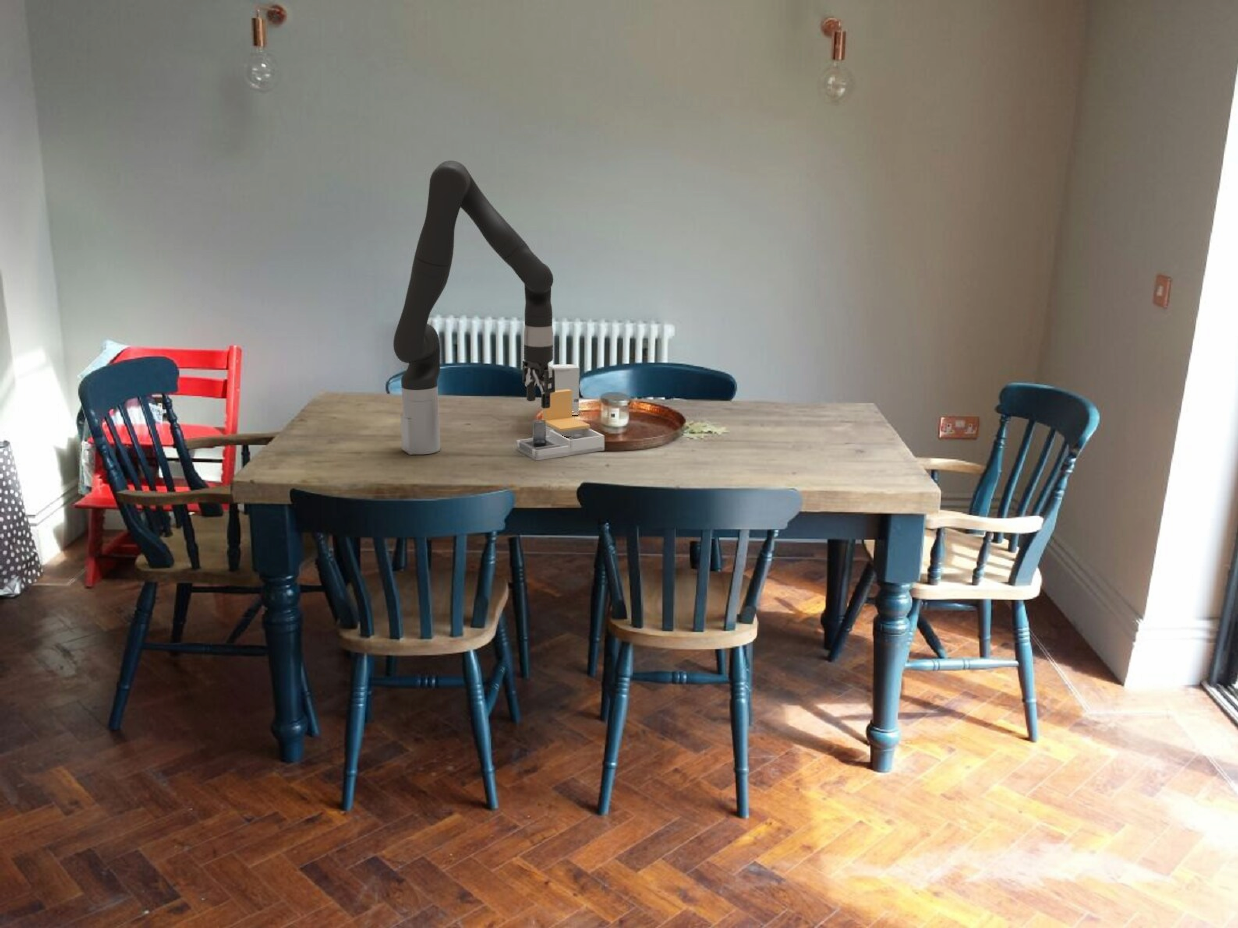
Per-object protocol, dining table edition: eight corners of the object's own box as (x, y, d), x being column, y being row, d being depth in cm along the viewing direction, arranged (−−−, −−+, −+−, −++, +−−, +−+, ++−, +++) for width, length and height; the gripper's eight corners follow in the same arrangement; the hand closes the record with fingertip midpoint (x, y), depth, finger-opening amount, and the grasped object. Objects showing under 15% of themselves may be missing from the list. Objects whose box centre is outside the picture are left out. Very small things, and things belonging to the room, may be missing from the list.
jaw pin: (549, 450, 296) (549, 422, 293) (535, 451, 294) (535, 423, 292) (543, 446, 299) (543, 418, 297) (529, 448, 297) (529, 420, 295)
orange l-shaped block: (560, 431, 300) (560, 401, 298) (541, 422, 310) (540, 392, 308) (590, 427, 304) (590, 397, 302) (570, 418, 315) (569, 389, 312)
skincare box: (552, 418, 332) (551, 368, 328) (547, 413, 338) (546, 364, 334) (580, 416, 335) (579, 366, 330) (574, 411, 340) (574, 362, 336)
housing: (535, 460, 290) (535, 445, 289) (504, 442, 306) (503, 428, 305) (604, 450, 299) (604, 435, 298) (570, 433, 316) (570, 419, 315)
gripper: (564, 346, 285) (563, 409, 289) (539, 336, 296) (539, 397, 301) (537, 348, 281) (537, 412, 286) (513, 338, 293) (513, 399, 298)
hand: (538, 404), depth 294 cm, fingers open, 8 cm apart
